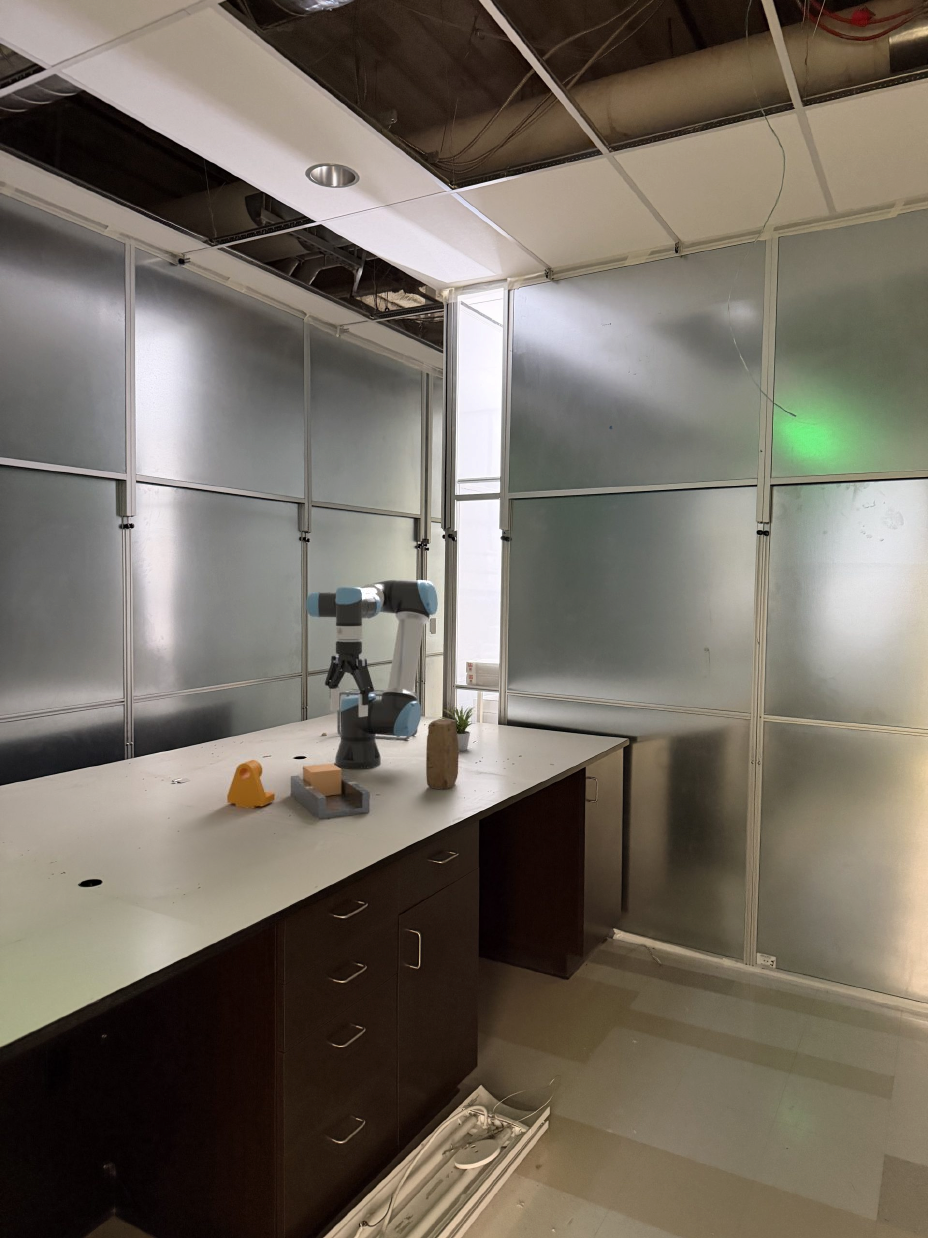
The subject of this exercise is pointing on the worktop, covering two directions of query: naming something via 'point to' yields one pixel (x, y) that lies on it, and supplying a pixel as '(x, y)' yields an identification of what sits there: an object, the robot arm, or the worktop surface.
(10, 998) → the worktop surface
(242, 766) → the bracket
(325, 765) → the slider block
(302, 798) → the chute
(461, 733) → the house plant
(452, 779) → the block
